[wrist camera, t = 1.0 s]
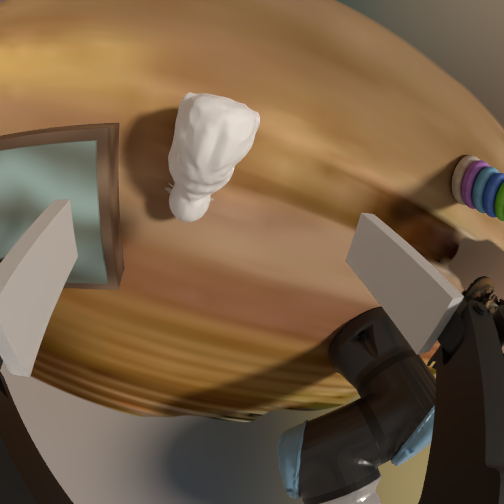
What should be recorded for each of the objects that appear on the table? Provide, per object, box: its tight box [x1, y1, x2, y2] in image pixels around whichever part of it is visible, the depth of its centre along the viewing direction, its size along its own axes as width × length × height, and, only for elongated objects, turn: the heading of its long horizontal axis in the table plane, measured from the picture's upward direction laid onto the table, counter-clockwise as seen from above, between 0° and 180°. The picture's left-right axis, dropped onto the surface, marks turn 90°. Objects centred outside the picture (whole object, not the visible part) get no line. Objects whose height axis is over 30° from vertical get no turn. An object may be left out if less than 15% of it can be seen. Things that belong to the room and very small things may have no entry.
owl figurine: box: [463, 276, 504, 314], centre depth 45 cm, size 18×12×17 cm, turn 64°
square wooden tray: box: [0, 123, 124, 290], centre depth 23 cm, size 16×16×4 cm
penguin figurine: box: [164, 92, 260, 222], centre depth 23 cm, size 6×8×12 cm
